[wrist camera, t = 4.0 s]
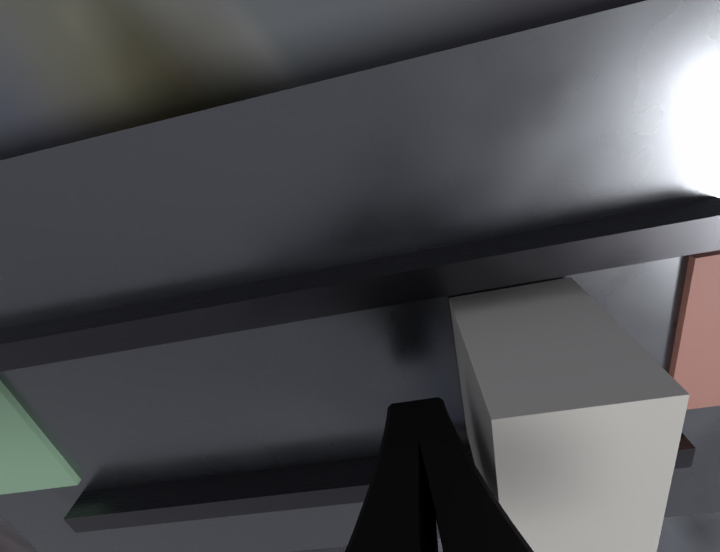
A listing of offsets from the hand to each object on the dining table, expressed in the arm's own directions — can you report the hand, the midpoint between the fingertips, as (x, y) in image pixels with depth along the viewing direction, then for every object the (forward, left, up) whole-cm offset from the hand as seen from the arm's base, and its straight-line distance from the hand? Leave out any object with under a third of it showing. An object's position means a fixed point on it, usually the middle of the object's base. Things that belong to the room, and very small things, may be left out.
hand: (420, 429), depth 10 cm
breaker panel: (0, +3, -3) cm, 4 cm away
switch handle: (0, -3, -2) cm, 3 cm away
